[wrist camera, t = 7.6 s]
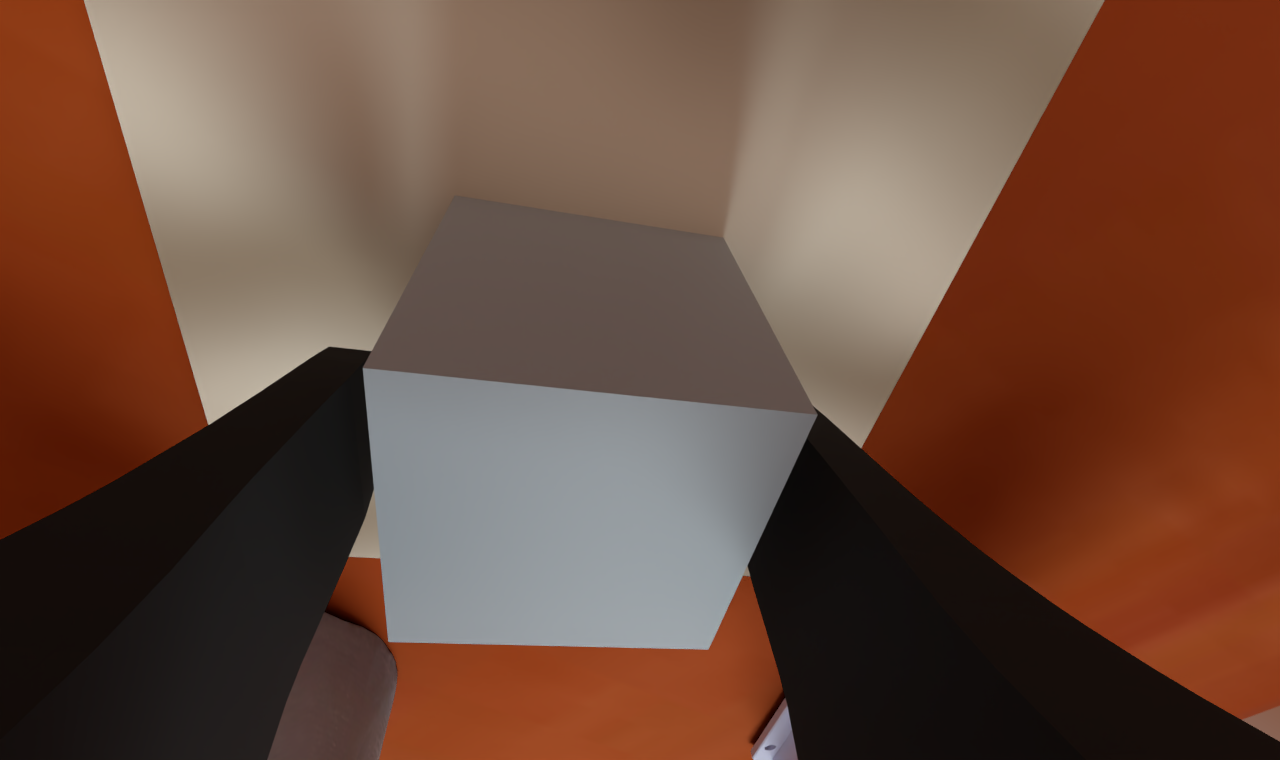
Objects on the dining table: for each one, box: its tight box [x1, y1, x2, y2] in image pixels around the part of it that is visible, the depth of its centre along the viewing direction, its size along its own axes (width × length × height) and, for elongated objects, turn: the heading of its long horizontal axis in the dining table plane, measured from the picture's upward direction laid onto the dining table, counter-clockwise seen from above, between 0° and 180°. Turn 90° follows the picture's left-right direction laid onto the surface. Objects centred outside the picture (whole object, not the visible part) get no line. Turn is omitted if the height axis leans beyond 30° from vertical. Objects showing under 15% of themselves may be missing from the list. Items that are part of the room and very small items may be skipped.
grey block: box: [363, 195, 817, 649], centre depth 9 cm, size 5×5×5 cm
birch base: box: [84, 0, 1104, 576], centre depth 12 cm, size 14×14×2 cm
